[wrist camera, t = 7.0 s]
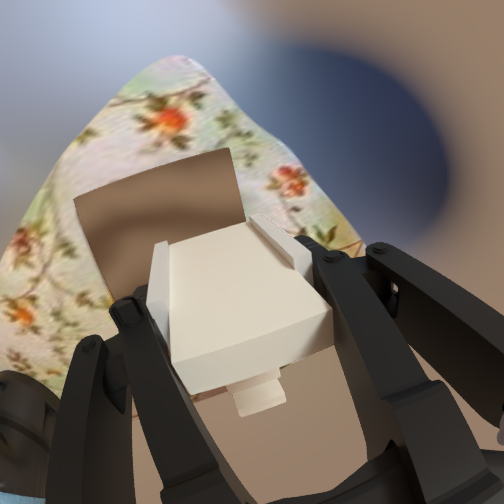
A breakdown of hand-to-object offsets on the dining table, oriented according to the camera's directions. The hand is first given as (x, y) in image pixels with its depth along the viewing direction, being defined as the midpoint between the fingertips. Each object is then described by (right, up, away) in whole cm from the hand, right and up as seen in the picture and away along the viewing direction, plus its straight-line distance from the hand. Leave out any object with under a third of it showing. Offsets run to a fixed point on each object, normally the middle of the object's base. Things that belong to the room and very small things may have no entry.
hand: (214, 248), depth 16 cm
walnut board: (-5, -4, +14) cm, 15 cm away
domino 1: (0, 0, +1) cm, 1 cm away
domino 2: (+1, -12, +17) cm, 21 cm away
